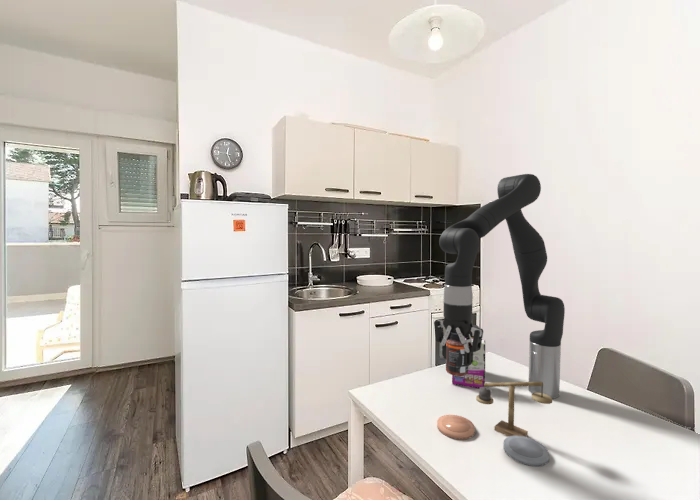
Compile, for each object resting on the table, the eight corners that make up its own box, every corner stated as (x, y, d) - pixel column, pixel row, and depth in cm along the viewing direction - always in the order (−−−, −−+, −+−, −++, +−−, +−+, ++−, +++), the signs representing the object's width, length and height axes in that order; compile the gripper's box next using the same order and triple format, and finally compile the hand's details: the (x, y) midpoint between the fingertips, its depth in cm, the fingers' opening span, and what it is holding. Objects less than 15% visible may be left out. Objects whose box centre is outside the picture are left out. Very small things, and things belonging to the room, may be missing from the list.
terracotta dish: (449, 414, 101) (449, 410, 101) (481, 429, 93) (481, 424, 93) (429, 427, 94) (430, 423, 94) (462, 444, 87) (462, 439, 86)
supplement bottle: (469, 378, 89) (470, 336, 89) (446, 376, 90) (447, 334, 90) (466, 369, 95) (467, 329, 95) (444, 367, 96) (445, 328, 96)
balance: (480, 415, 100) (481, 360, 100) (553, 446, 86) (555, 382, 85) (472, 420, 97) (473, 364, 97) (547, 454, 83) (549, 387, 82)
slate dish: (513, 435, 90) (513, 430, 90) (555, 453, 83) (555, 448, 83) (496, 450, 84) (496, 445, 84) (539, 472, 76) (539, 466, 76)
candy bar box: (485, 384, 121) (486, 339, 120) (485, 390, 117) (485, 343, 116) (452, 379, 125) (453, 335, 125) (451, 384, 121) (452, 339, 120)
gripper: (489, 303, 89) (488, 365, 90) (443, 296, 100) (442, 351, 101) (475, 307, 84) (474, 373, 85) (427, 299, 95) (427, 357, 96)
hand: (456, 361), depth 93 cm, fingers closed on supplement bottle, 6 cm apart
